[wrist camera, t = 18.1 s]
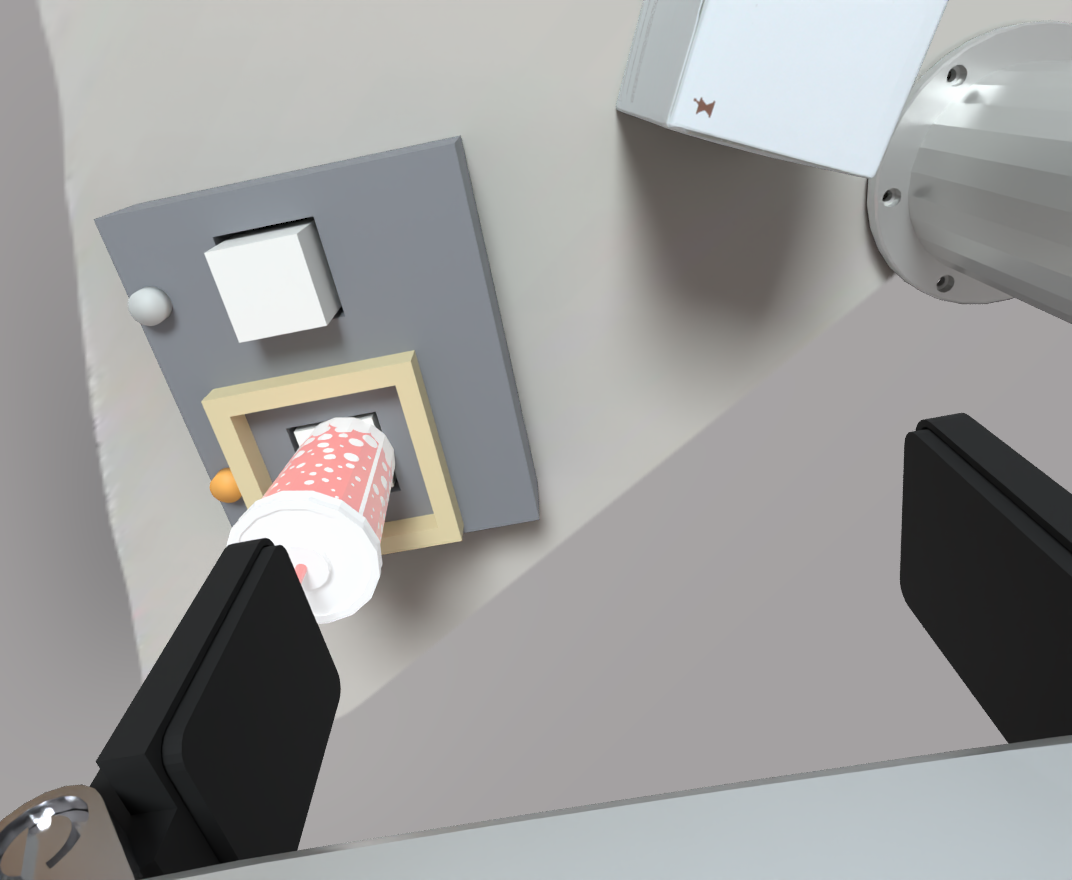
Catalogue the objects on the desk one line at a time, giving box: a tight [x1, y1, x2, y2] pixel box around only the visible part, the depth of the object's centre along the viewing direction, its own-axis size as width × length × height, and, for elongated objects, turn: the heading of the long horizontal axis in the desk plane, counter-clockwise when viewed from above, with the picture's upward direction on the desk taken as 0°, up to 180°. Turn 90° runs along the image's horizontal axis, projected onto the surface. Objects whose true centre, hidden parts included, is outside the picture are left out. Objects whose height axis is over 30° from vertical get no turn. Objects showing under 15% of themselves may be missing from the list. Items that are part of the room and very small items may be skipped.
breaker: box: [204, 218, 342, 343], centre depth 33 cm, size 4×4×4 cm
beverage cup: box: [226, 417, 395, 624], centre depth 31 cm, size 6×6×14 cm
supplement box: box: [616, 0, 949, 179], centre depth 28 cm, size 7×7×13 cm
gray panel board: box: [94, 136, 539, 555], centre depth 37 cm, size 16×19×6 cm
